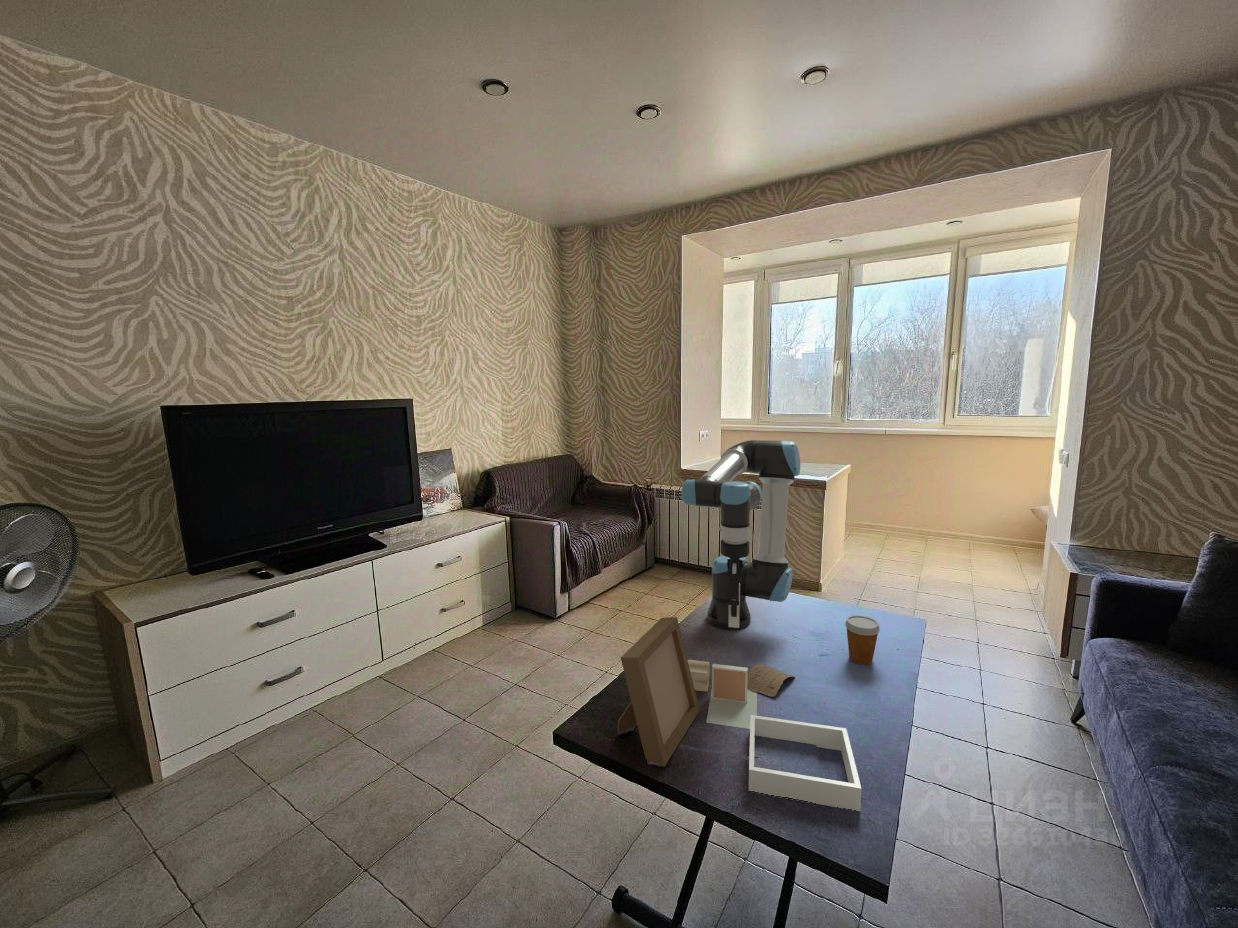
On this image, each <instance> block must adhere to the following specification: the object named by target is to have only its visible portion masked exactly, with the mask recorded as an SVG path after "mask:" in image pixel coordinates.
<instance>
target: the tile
mask: <svg viewBox="0 0 1238 928" xmlns="http://www.w3.org/2000/svg"><path fill="white" fill-rule="evenodd" d="M748 669H749V668H748V667H745V666H744V667H743V666H734V665H727V664H718V663H712V666H711V690H712V699H720V700H727V701H734V702H742V703H747V680H748V673H749V671H748Z"/></svg>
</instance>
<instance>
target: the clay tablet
mask: <svg viewBox="0 0 1238 928" xmlns="http://www.w3.org/2000/svg"><path fill="white" fill-rule="evenodd" d="M791 677H792V678H794V675H793V676H792V675H790V674H787V673H784V672H782V671H781V670H780V671H779V670H777V669H775V668H773V667H772V668H771V667H769V666H767V665H765V664H761V663H759V664H756V665H754V666H753V667H752V668H751V669H750V670H749V671H748V680H747V689H749V690H751V691H753V692H757V693H760V694H762V695H765V696H768V697H776V696H777V695H778V692H779V689H780V688H781V686H782V685H783V683H784V681H785V680H787V679H788V678H791Z"/></svg>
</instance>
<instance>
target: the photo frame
mask: <svg viewBox="0 0 1238 928" xmlns="http://www.w3.org/2000/svg"><path fill="white" fill-rule="evenodd" d="M620 660H621V665H622V668H623V673H624V676H625V677H624V678H625V681H626V685H627V689H628V690H627V691H628V693H629V697H630V700H631V701H630V702H629V704H628V705H627V707H626V708H625V710H623V713H622V714H621V715H620V717H619V718H618V720H617V731H618V732H619V731H622V730H626V729H628V728H631V727H634V726H636V727H637V729H638V733H639V737H640V741H641V745H642V749H643V753H644V757H645V760H646V759H647V760H649V761H651V762H654V763H656V764H659V765H660V766H659V767H662V766H663V767H662V768H665V767H666V765H667V764H668V762H669V760H670V759H671V757H672V756H673V755H674V753H675V751H676V749H677V748H678V746H679V745H680V742H682V740H683V738H684V736H685V735H686V733H687V731H688V730H689V729H690V727H691V725H692V724H693V723H694V722H693V721H694V720H695V719H696V717H697V716H698V714H699V713H700V706H699V702H698V698H697V694H696V690H695V689H694V685H693V681H692V677H691V673H690V669H689V665H688V660H689V659H688V657H687V653H686V650H685V644H684V641H683V637H682V632H681V629H680V624H679V620H678V617H677V616H672V617H671V616H670V617H667V616H666V617H661V618H660V619H659V620H657V622H656V623H654V625H653V626H652V627H650V628H649V629H648V630H647V631H646V632H645V633H644V634H643V635H642V636H641V637H640V638H639V639H638V640H637V641H636V642H635V643H634V644H633V645H632V646H630V648H629V649H628V650H627V651H626V652H624V653H623V654H622V656H620Z"/></svg>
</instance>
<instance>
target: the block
mask: <svg viewBox="0 0 1238 928" xmlns="http://www.w3.org/2000/svg"><path fill="white" fill-rule="evenodd" d="M687 660H688V665H689V669H690V673H691V677H692V681H693V685H694V689H695V691H699V692H708V690H709V685H710V671H711V670H710V661H703V660H696V659H695V660H694V659H687Z"/></svg>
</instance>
